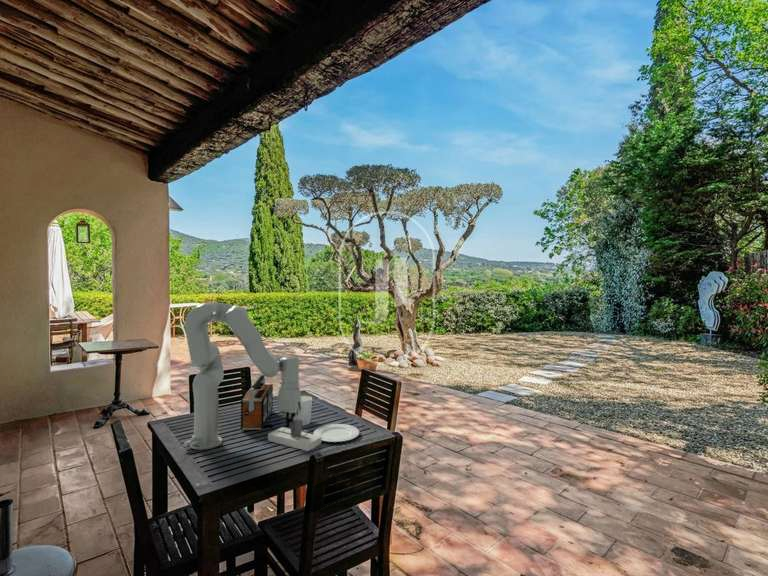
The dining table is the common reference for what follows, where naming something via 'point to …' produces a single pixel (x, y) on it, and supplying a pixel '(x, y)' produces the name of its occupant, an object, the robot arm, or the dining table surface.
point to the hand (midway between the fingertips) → (289, 426)
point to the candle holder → (305, 410)
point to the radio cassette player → (256, 405)
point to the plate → (337, 432)
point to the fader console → (295, 439)
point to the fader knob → (296, 427)
